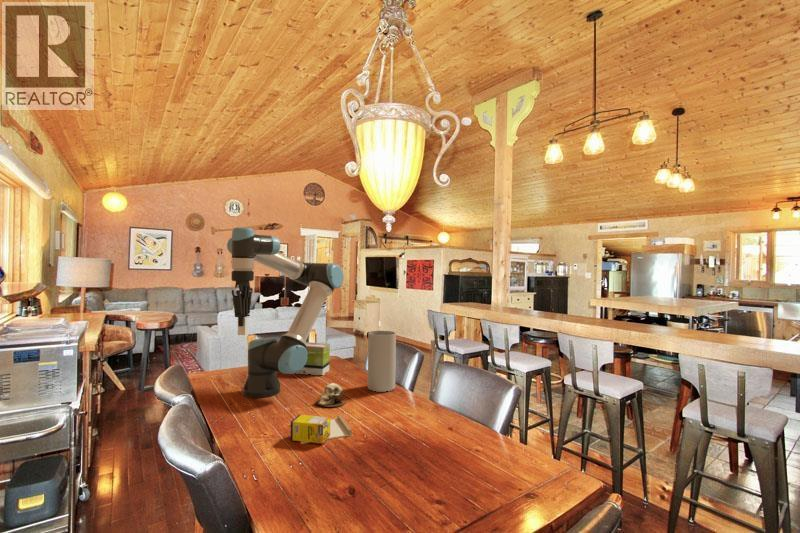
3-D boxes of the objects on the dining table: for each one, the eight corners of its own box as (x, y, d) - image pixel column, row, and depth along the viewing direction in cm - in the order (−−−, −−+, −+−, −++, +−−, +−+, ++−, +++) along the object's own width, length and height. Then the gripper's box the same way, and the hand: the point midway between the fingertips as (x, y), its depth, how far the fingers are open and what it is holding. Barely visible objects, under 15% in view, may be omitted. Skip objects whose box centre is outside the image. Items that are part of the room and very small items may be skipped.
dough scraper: (301, 444, 116) (301, 438, 116) (294, 426, 129) (294, 421, 129) (351, 435, 123) (351, 429, 123) (340, 419, 136) (340, 414, 136)
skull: (329, 409, 143) (318, 384, 148) (317, 421, 148) (307, 397, 153) (353, 400, 152) (342, 377, 156) (341, 412, 157) (331, 390, 162)
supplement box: (290, 440, 118) (322, 444, 115) (290, 421, 118) (322, 424, 115) (299, 432, 124) (330, 435, 121) (299, 414, 124) (330, 417, 121)
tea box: (294, 374, 192) (295, 345, 192) (302, 369, 202) (303, 341, 202) (322, 376, 189) (323, 346, 189) (329, 371, 199) (330, 342, 199)
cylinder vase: (400, 387, 174) (401, 332, 174) (384, 394, 163) (385, 336, 163) (378, 382, 180) (379, 329, 180) (361, 389, 170) (362, 333, 170)
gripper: (240, 269, 145) (239, 331, 145) (224, 270, 132) (223, 338, 132) (259, 270, 145) (259, 331, 145) (245, 270, 132) (244, 338, 132)
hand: (242, 334), depth 139 cm, fingers closed
